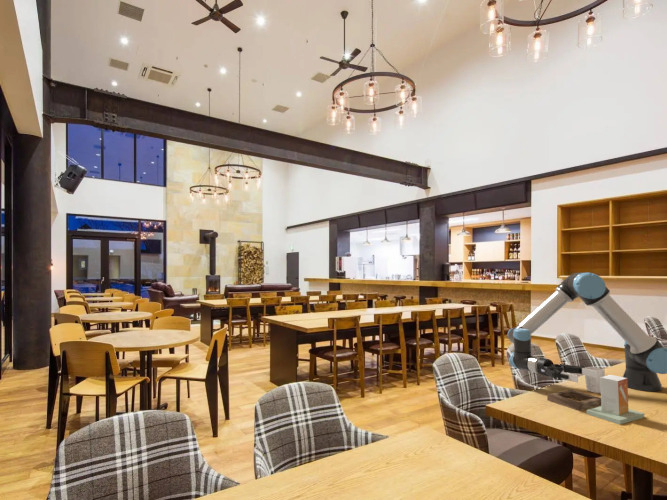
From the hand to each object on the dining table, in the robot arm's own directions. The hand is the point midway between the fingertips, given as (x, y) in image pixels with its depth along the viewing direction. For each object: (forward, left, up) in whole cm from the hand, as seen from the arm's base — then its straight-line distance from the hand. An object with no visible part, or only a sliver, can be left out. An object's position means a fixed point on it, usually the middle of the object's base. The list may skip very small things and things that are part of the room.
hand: (588, 376), depth 162 cm
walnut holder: (-1, -7, -13) cm, 14 cm away
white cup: (-25, -13, -13) cm, 31 cm away
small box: (0, +10, -11) cm, 15 cm away
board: (0, +10, -13) cm, 16 cm away
